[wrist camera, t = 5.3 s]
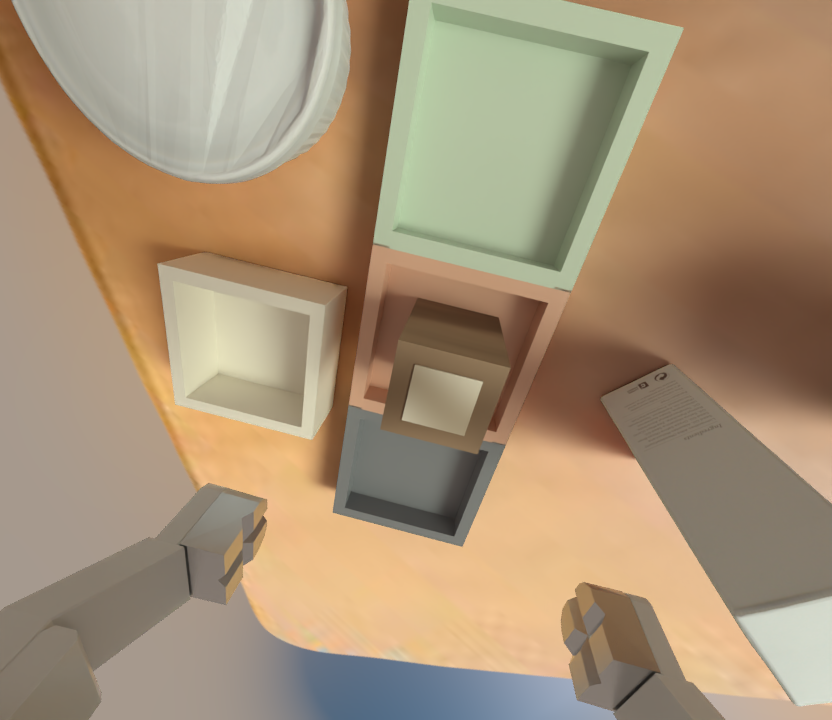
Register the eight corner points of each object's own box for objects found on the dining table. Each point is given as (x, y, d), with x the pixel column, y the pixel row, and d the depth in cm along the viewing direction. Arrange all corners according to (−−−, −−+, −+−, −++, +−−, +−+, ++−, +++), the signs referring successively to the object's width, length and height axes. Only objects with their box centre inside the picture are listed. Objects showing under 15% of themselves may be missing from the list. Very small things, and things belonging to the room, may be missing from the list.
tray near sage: (420, -6, 14) (414, -34, 12) (656, 48, 14) (684, 27, 12) (381, 238, 19) (372, 244, 17) (560, 282, 18) (570, 293, 17)
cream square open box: (205, 251, 20) (157, 263, 17) (347, 287, 20) (325, 305, 17) (213, 376, 24) (175, 404, 21) (332, 406, 24) (312, 439, 21)
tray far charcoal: (358, 387, 23) (348, 404, 21) (502, 424, 23) (505, 444, 21) (341, 491, 27) (332, 512, 25) (462, 522, 27) (462, 546, 25)
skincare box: (595, 396, 21) (729, 614, 10) (670, 360, 19) (921, 572, 9) (640, 464, 23) (795, 713, 12) (712, 435, 21) (966, 692, 10)
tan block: (416, 297, 19) (396, 340, 14) (498, 317, 19) (510, 368, 14) (400, 367, 21) (378, 429, 16) (475, 386, 21) (477, 455, 16)
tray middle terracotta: (382, 237, 18) (373, 242, 17) (561, 281, 18) (571, 290, 16) (357, 388, 23) (348, 406, 21) (502, 425, 23) (505, 446, 21)
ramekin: (390, 171, 17) (361, 165, 13) (188, 196, 19) (96, 198, 14) (348, -187, 12) (276, -414, 8) (84, -109, 14) (-106, -255, 10)
